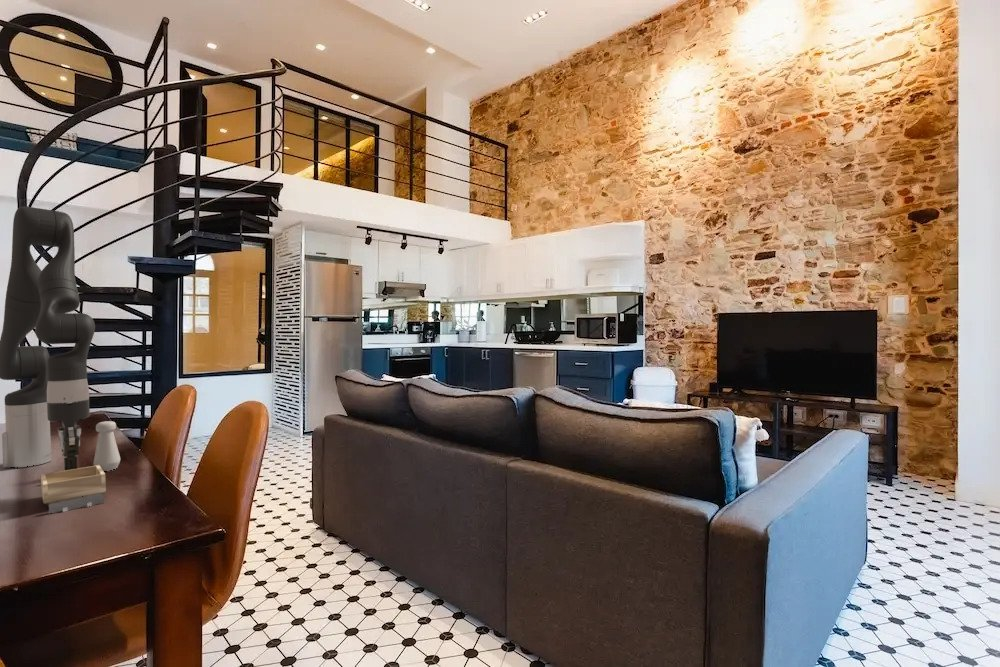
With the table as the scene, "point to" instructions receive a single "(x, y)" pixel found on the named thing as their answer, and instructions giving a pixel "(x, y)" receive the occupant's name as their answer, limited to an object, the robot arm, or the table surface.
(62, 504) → the rail
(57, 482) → the wooden tray
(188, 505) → the table surface
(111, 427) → the salt shaker
